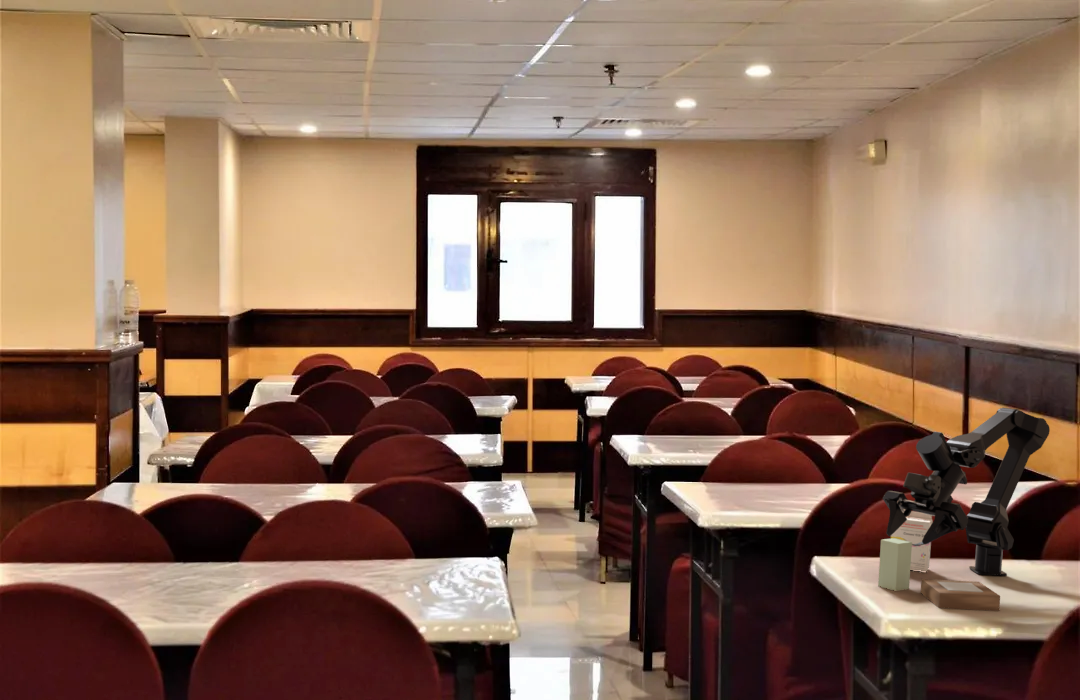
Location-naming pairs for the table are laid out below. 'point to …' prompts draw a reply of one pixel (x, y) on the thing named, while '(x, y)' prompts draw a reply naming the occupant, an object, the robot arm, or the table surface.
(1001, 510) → the robot arm
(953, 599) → the walnut base plate
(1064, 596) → the table surface
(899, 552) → the sage pillar
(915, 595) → the table surface
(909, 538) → the ink cartridge box
